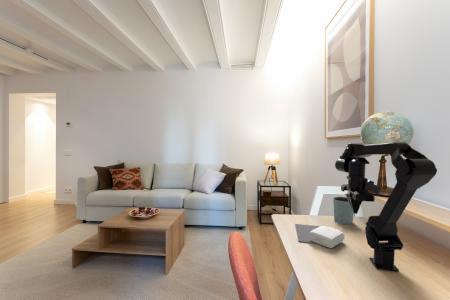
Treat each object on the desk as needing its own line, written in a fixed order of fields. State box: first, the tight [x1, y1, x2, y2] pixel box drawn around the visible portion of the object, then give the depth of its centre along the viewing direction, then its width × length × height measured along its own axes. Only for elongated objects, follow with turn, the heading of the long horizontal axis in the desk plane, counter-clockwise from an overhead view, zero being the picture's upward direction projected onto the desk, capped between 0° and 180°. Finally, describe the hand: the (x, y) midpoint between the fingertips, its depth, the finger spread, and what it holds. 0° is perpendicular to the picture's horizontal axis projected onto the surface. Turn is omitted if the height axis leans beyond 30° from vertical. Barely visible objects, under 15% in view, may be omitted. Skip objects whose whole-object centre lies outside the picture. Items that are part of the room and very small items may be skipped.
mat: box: [294, 223, 321, 245], centre depth 101 cm, size 20×13×1 cm, turn 166°
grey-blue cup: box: [332, 196, 354, 226], centre depth 117 cm, size 10×10×12 cm
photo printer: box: [308, 225, 345, 249], centre depth 93 cm, size 10×4×12 cm
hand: (355, 213), depth 90 cm, fingers closed
